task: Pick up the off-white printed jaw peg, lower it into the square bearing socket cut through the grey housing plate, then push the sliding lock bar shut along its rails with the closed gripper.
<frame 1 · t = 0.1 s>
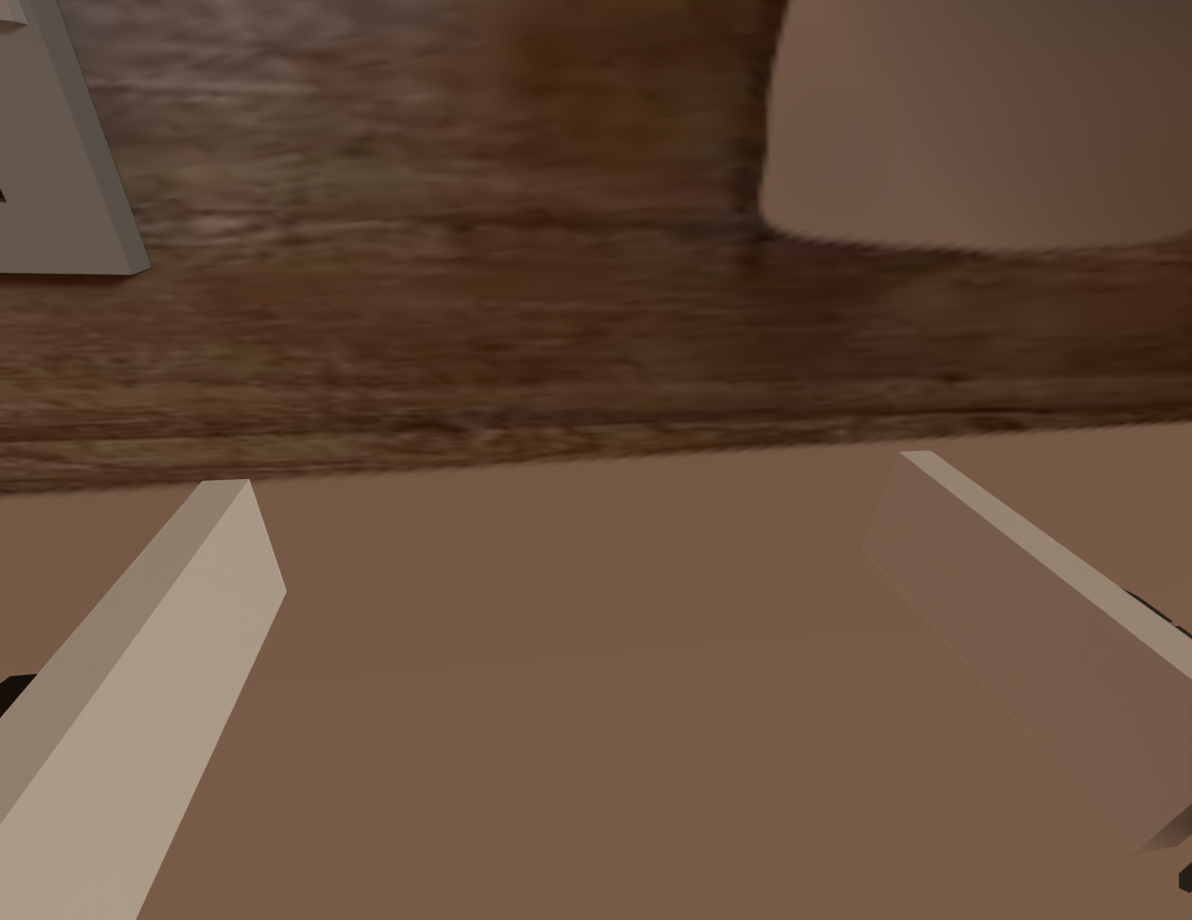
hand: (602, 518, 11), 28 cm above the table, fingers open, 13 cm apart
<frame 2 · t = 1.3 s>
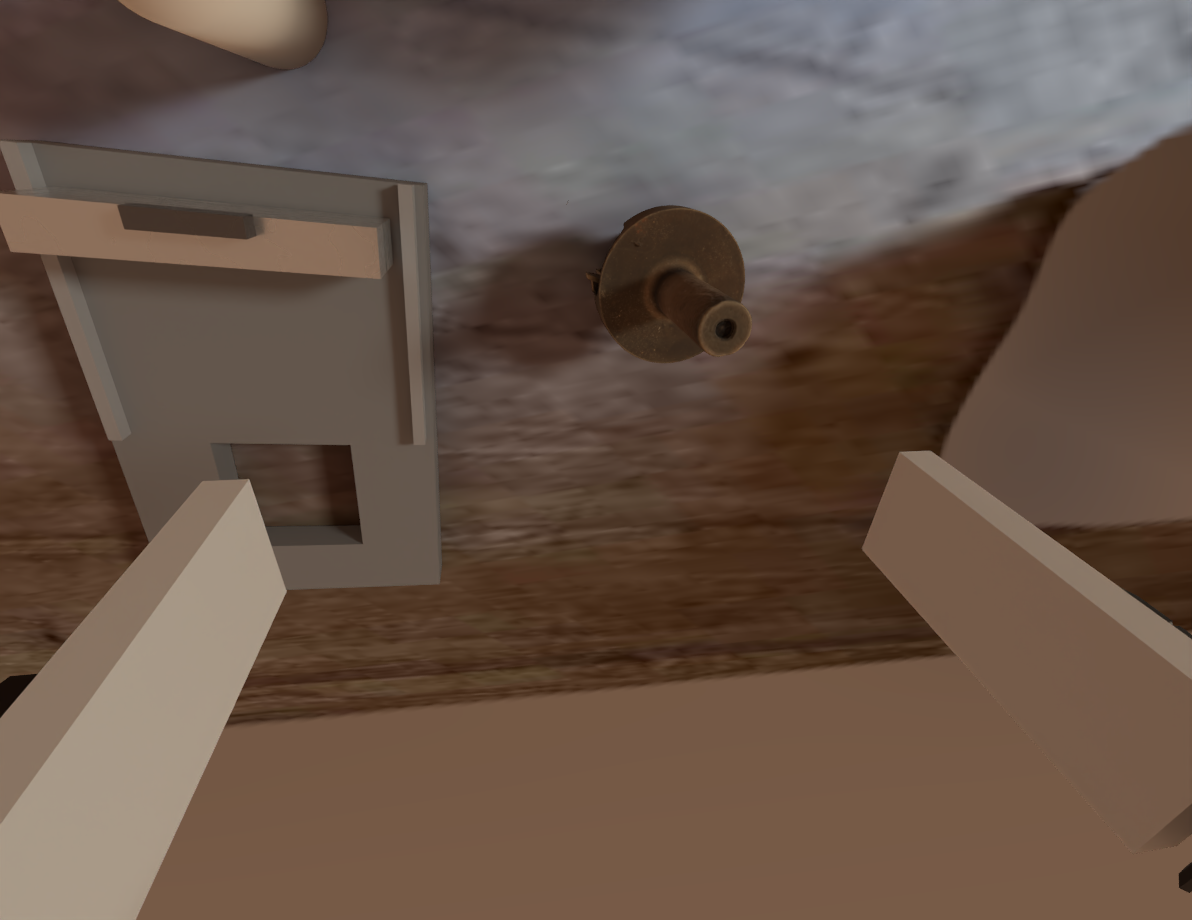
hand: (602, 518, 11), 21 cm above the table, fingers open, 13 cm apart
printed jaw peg: (269, 4, 22), on the table
industrial component: (632, 263, 30), on the table
lock bar: (214, 233, 22), point 5 cm above the table, slide at 0.0 cm
housing plate: (288, 404, 30), on the table
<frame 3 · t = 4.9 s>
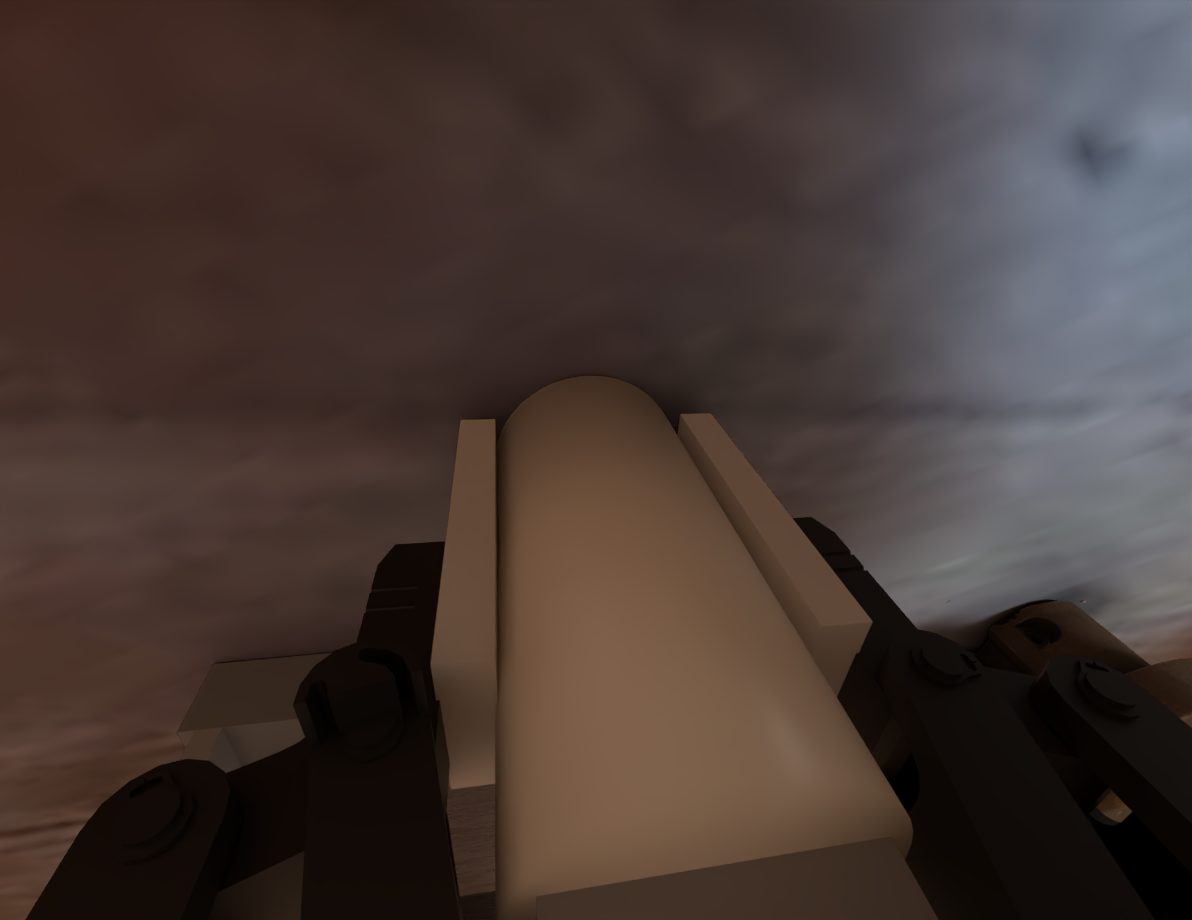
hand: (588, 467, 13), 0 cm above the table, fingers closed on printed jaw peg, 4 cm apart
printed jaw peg: (586, 459, 13), on the table, touching gripper
industrial component: (1000, 634, 21), on the table
lock bar: (516, 847, 13), point 5 cm above the table, slide at 0.0 cm
housing plate: (518, 838, 22), on the table
when the fingers open (3 cm above the table, at t = 9.8 s): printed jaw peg drops 3 cm, resting in housing plate.
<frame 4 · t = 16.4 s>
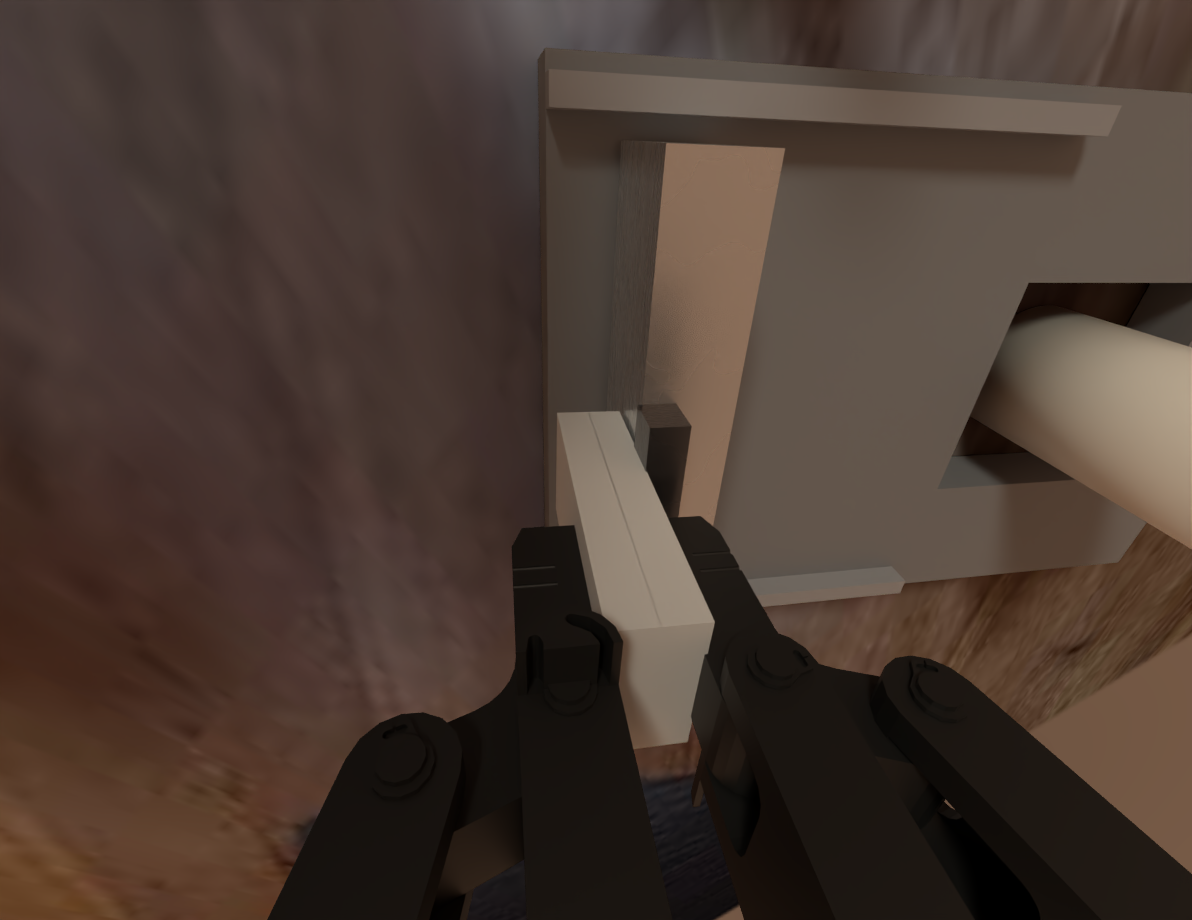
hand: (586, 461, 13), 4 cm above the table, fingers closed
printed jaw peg: (1019, 367, 19), resting in housing plate
lock bar: (661, 456, 13), point 5 cm above the table, slide at 0.1 cm, touching gripper
housing plate: (894, 374, 18), on the table
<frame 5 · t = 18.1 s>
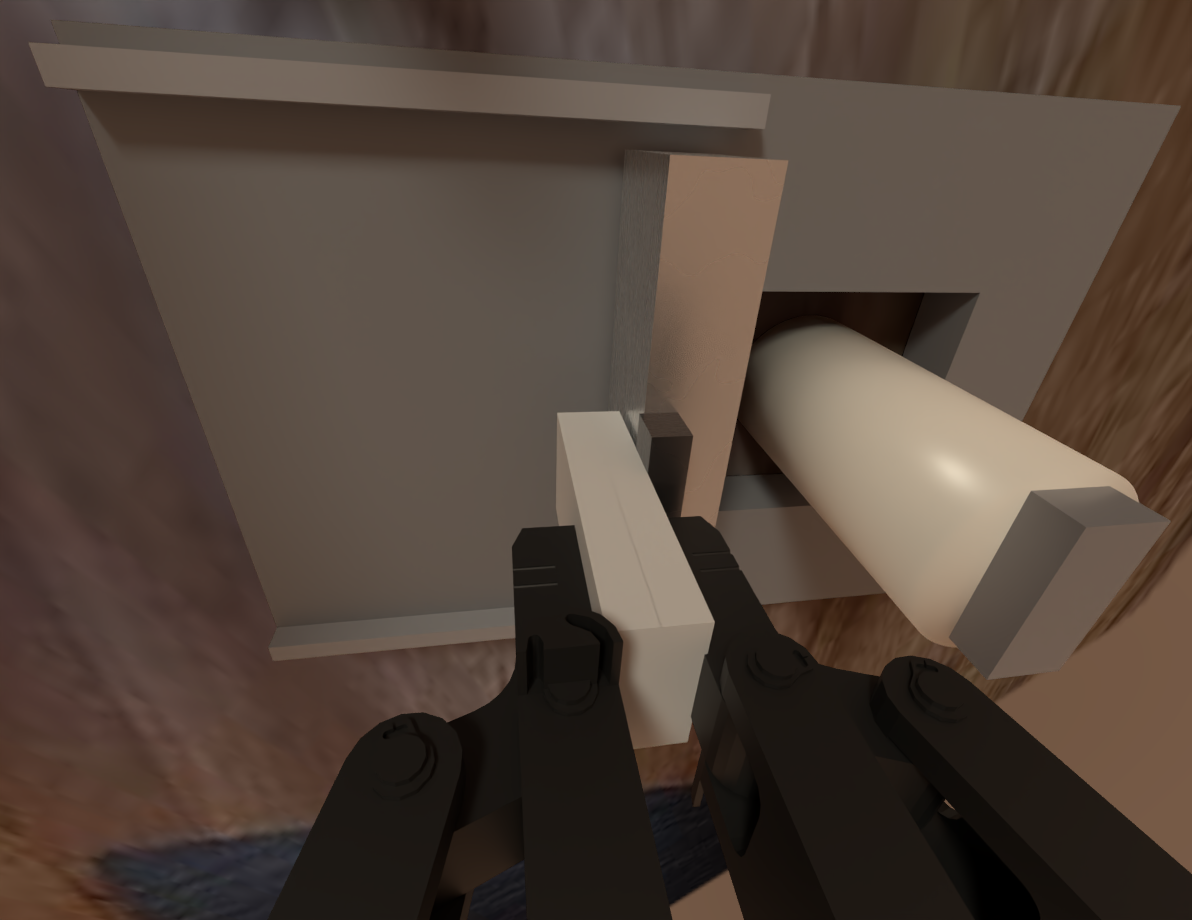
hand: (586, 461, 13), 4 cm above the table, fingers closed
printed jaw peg: (795, 381, 18), resting in housing plate
lock bar: (662, 464, 13), point 5 cm above the table, slide at 8.7 cm, touching gripper
housing plate: (651, 388, 17), on the table
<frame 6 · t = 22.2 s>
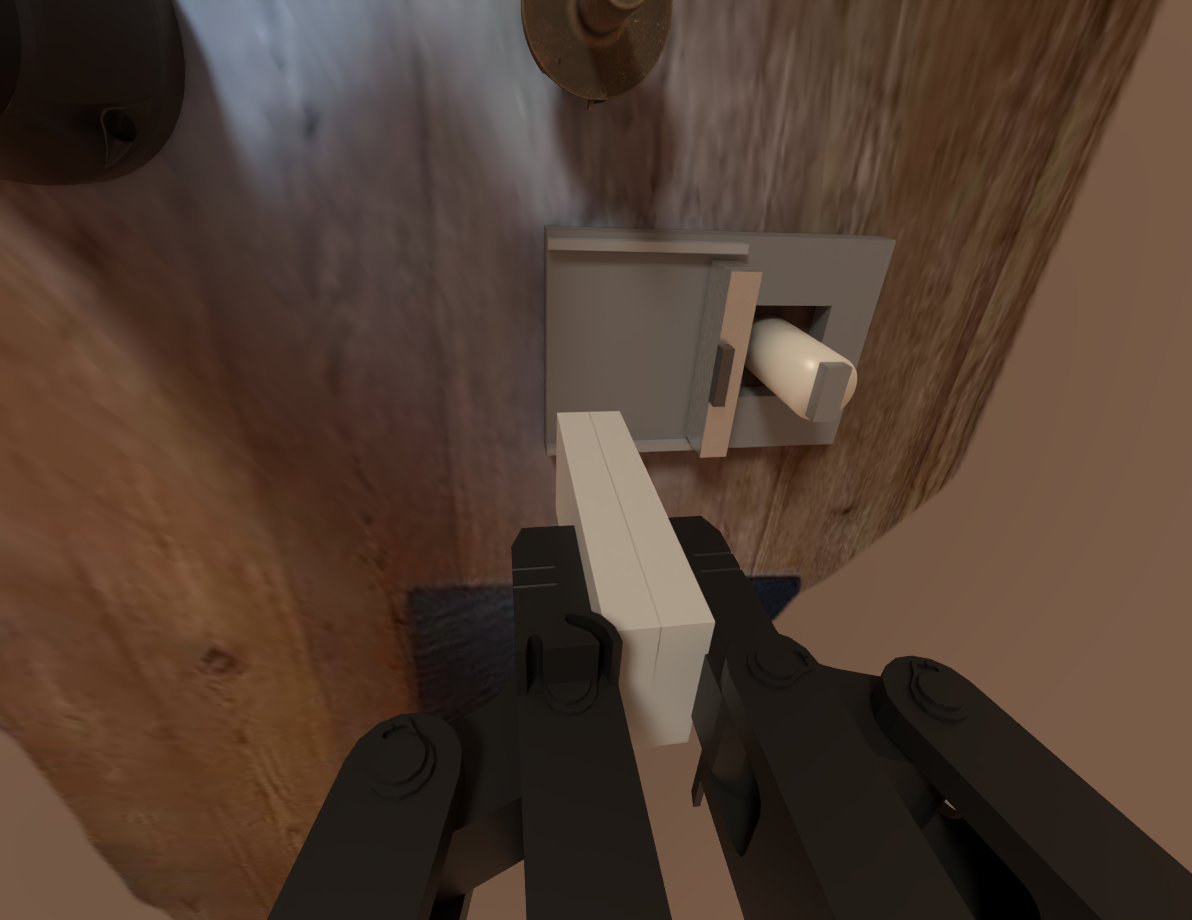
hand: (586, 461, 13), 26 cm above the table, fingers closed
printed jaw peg: (763, 342, 41), resting in housing plate
industrial component: (578, 44, 30), on the table
lock bar: (721, 366, 37), point 5 cm above the table, slide at 9.3 cm
housing plate: (702, 344, 41), on the table
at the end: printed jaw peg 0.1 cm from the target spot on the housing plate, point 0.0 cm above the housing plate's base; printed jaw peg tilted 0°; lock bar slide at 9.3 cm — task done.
